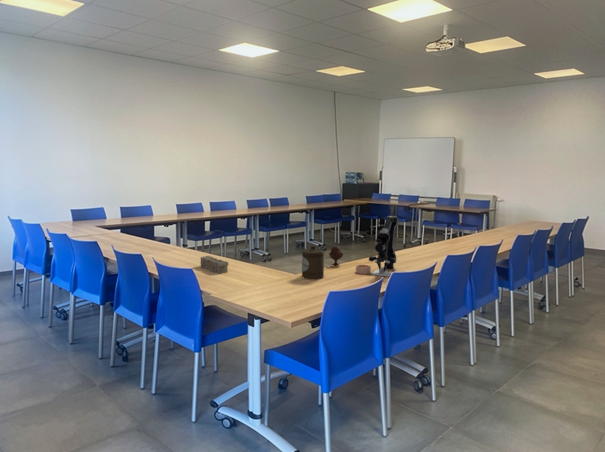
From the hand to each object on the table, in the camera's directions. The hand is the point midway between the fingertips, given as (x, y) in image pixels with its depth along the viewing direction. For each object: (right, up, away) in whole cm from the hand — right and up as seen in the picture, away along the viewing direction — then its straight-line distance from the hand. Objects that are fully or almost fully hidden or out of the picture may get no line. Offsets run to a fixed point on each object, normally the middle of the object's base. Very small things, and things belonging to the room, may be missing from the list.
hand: (382, 271), depth 305 cm
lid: (0, -1, 0) cm, 1 cm away
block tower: (-121, 0, +6) cm, 121 cm away
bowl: (-13, -1, +3) cm, 13 cm away
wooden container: (-50, -3, -11) cm, 51 cm away
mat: (0, -2, 0) cm, 2 cm away
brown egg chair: (-31, +2, +27) cm, 41 cm away
